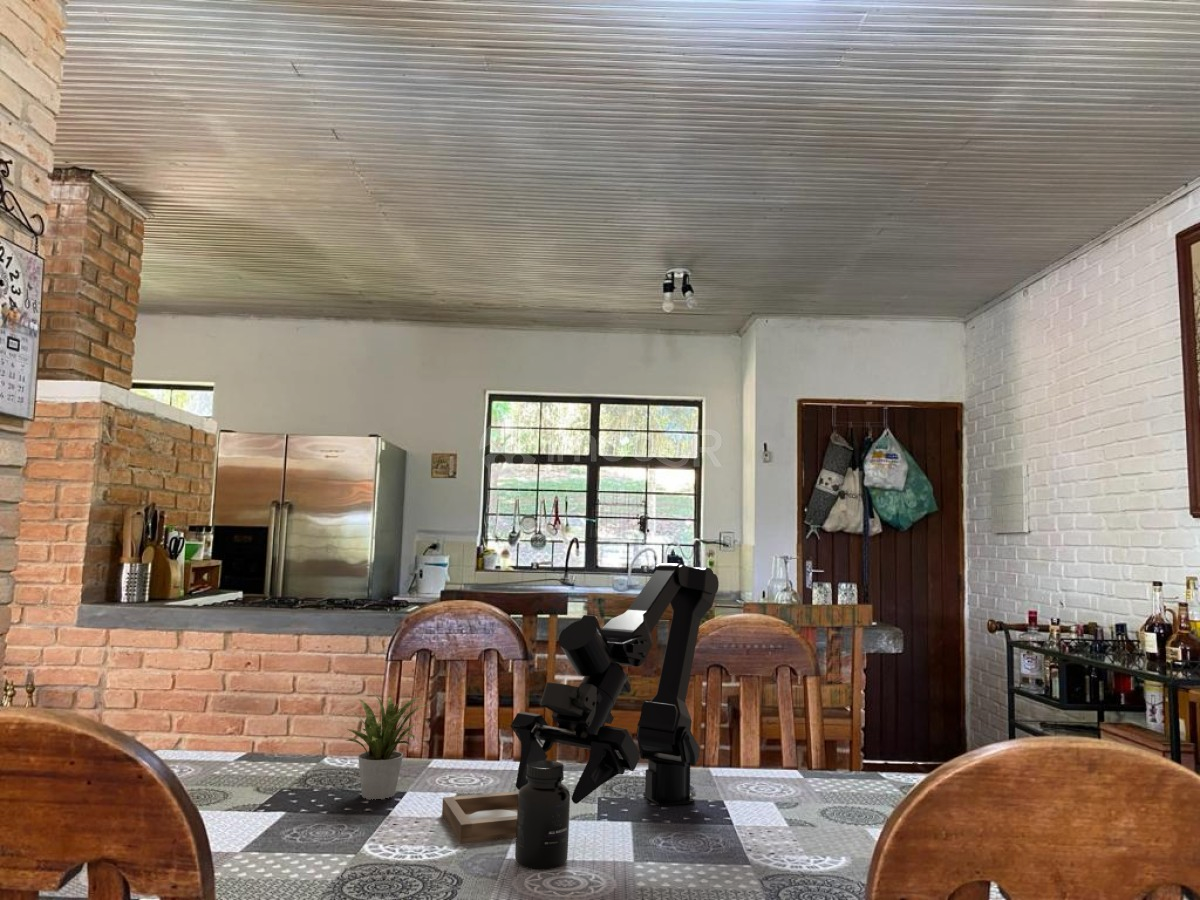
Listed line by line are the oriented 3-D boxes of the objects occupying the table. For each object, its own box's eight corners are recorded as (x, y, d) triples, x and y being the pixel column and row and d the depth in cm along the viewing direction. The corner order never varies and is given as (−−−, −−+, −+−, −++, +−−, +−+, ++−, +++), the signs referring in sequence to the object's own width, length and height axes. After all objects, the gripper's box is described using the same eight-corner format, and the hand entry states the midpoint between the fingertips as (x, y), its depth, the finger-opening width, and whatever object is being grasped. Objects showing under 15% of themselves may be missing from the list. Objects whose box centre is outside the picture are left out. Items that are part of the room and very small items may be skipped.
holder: (524, 806, 125) (525, 790, 125) (551, 833, 113) (551, 815, 113) (442, 814, 120) (442, 797, 120) (460, 843, 108) (461, 824, 108)
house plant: (444, 786, 134) (449, 687, 137) (411, 811, 121) (417, 700, 123) (365, 780, 137) (372, 682, 139) (324, 803, 123) (332, 695, 126)
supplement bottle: (560, 874, 98) (563, 772, 100) (507, 868, 100) (511, 768, 101) (573, 854, 105) (576, 759, 107) (523, 849, 106) (527, 756, 108)
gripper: (521, 654, 116) (464, 746, 105) (630, 666, 105) (579, 769, 95) (552, 703, 121) (501, 795, 110) (659, 719, 110) (613, 823, 100)
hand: (545, 794), depth 104 cm, fingers open, 9 cm apart
